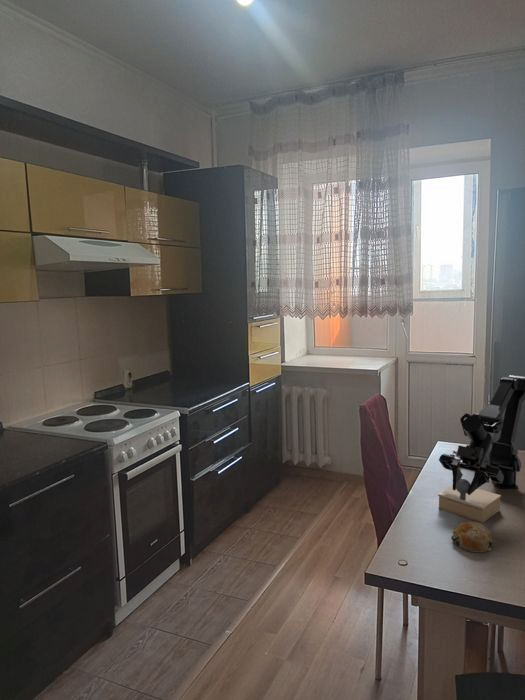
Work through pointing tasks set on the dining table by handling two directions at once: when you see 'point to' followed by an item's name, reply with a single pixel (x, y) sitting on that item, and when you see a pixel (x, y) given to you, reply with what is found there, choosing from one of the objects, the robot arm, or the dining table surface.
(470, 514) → the wooden box
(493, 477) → the robot arm
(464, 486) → the lid
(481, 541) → the bread roll
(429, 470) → the dining table surface
